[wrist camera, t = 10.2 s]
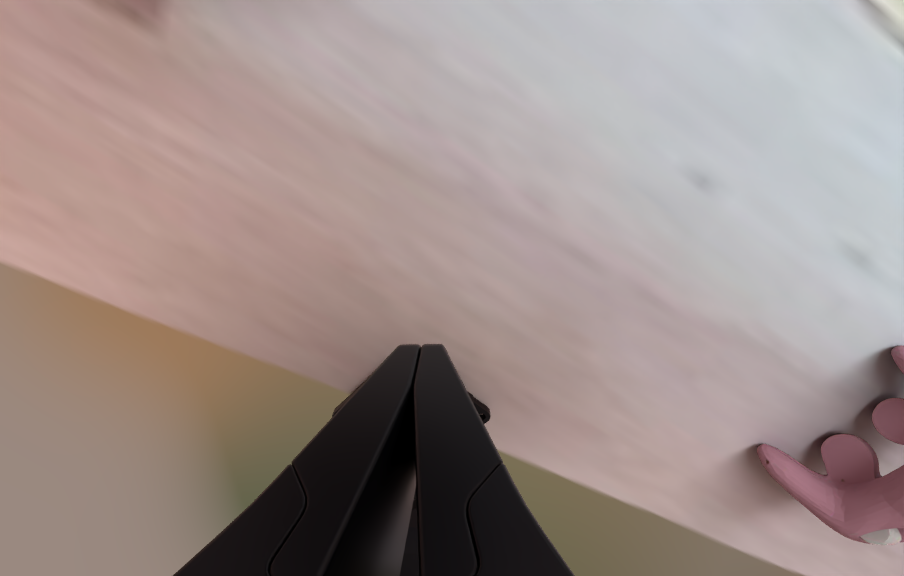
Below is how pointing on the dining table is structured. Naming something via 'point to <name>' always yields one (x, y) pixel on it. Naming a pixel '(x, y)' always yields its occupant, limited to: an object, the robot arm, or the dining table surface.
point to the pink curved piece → (851, 479)
